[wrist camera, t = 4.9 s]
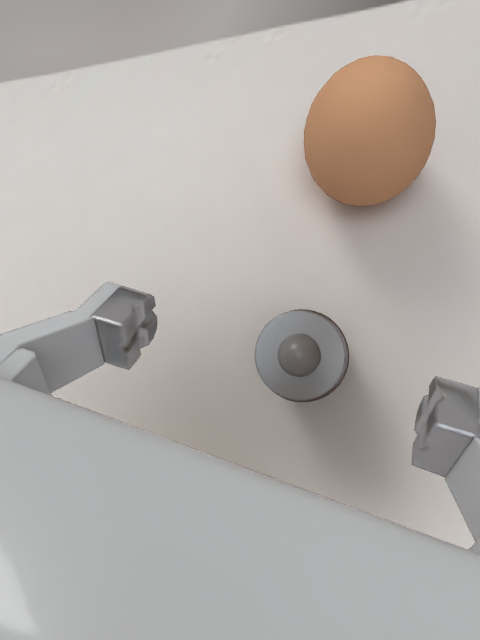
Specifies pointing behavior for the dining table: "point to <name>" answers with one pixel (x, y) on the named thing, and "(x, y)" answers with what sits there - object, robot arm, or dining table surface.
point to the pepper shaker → (302, 355)
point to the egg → (369, 131)
